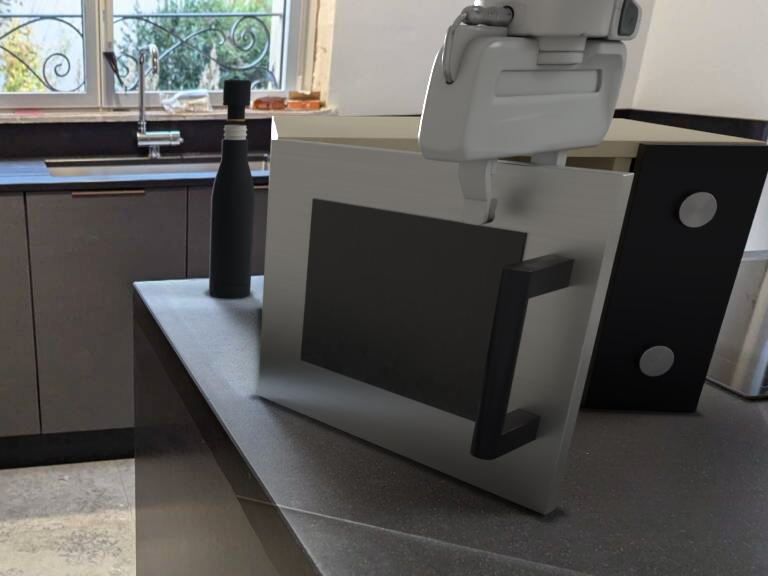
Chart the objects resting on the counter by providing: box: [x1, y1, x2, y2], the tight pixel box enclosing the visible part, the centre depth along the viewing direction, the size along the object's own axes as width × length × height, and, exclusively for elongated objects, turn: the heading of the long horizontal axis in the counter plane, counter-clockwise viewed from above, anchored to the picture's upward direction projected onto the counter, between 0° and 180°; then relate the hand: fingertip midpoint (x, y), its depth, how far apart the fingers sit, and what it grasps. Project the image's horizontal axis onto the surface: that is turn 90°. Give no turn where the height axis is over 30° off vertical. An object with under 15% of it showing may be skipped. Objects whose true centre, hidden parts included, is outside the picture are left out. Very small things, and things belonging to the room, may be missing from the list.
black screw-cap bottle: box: [208, 79, 256, 299], centre depth 121 cm, size 6×6×30 cm
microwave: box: [261, 115, 768, 413], centre depth 96 cm, size 35×44×26 cm
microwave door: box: [257, 139, 634, 516], centre depth 69 cm, size 8×33×26 cm, turn 38°
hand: (505, 218), depth 62 cm, fingers open, 6 cm apart
